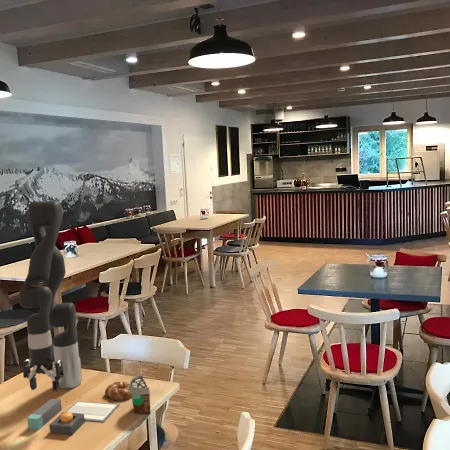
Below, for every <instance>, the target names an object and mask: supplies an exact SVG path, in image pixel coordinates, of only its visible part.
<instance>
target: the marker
mask: <svg viewBox="0 0 450 450" xmlns="http://www.w3.org/2000/svg"><path fill="white" fill-rule="evenodd" d="M62 411H63V410H62V400H61V399H58V398H56V399H55V398H49V400H47V402H45V403H44V404H42V405H41V406H40V407H39V408H37V410H35V411H34V412H33V413H31V414H30V415H29V416H27V419H26V421H27V429H28V430H34V431H40V430H41V429H43V427H45V426H46V424H48V423H49V422H50V421H51V420H52V419H54V418H55V417H56V416H57V415H58V414H59V413H60V412H62Z"/></svg>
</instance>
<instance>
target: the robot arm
mask: <svg viewBox="0 0 450 450" xmlns="http://www.w3.org/2000/svg"><path fill="white" fill-rule="evenodd" d="M27 212H28V220H29V223H30V228H31V231H32V232H31V233H32V235H33V240H34V244H35V247H34V250H33V251H32V254H31V256H30V258H29V264H28V270H27V272H28V273H27V276H26V277H25V280H24V282H23V284H22V286H21V289H20V291H19V292H18V293H19V294H18V303H19V305H20V306H21V307H22V308H23V309H37V308H39V311H38V312H37V313H36V312H35V313H33V314H30V315H29V316H27V318H26V326H27V344H28V345H27V346H28V353H29V358H27V359H25V360H23V361H22V373H23V375H22V377H23V378H24V379H26V378H27V379H28V380H29V387H30V389H31V391H34V390H36V389H37V388H38V385H37V383H38V382H37V377H36V376H37V374H38V375H40V374H41V375H46V376H47V377H50V379H51V384H52V392H56V391H58V390H59V389H60V390H67V389H68V390H69V389H74V388H76V387H78V386H79V385H80V384H82V380H83V375H82V364H81V357H80V354H79V353H80V352H79V343H78V330H77V312H76V305H75V304H74V303H73V302H61V303H55V298H56V294H57V292H58V290H59V288H60V286H61V284H62V283H63V280H64V278H65V277H66V264H65V259H64V255H63V253H62V252H61V250H60V249H59V247H57V246H56V243H57V241H58V236H59V232H60V228H61V225H62V221H63V206H62V204H61V203H60V202H59V201H57V200H40V201H39V200H37V201H31V203H29V206H28V211H27ZM45 227H48V228H47V232H46V230H45ZM40 283H41V284H42V285H41V286H38V285H39V284H40ZM65 327H66V330H64V331H62V332H60V333H58V334H56V335H54V336H53V338H52V333H51V328H65ZM53 358H54V359H53ZM31 367H32V369H31Z"/></svg>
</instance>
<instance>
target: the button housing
mask: <svg viewBox="0 0 450 450" xmlns="http://www.w3.org/2000/svg"><path fill="white" fill-rule="evenodd" d="M65 412H66V411H65ZM65 412H64V411H62V412H61V414H63V413H65ZM61 414H59V415H58V416H57V417H56V418H55V419H54V420H53V421H52V422H50V423H49V425H48V426H49V434H55V435H65V436H73V435H74V434H75V432H77V431H78V430H79V429H80V428H81V427H82V426H83V425H84V424H85V422H86V421H85V419H84V414H78V413H72V414H73V420H72V421H71V422H70V423H61Z"/></svg>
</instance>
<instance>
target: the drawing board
mask: <svg viewBox="0 0 450 450" xmlns="http://www.w3.org/2000/svg"><path fill="white" fill-rule="evenodd" d="M119 407H120V403H109V402H97V401H96V402H94V401H82V400H78V401H76V402H75V403H73V405H71V406H70V407H69V408H68V409H66V411H65V412H72V413H78V414H84V419H85V422H95V423H105V422H106V420H108V418H110V416H111V415H113V413H114V412H115V411H116V410H117V408H119ZM115 409H116V410H115ZM114 410H115V411H114Z"/></svg>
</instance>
